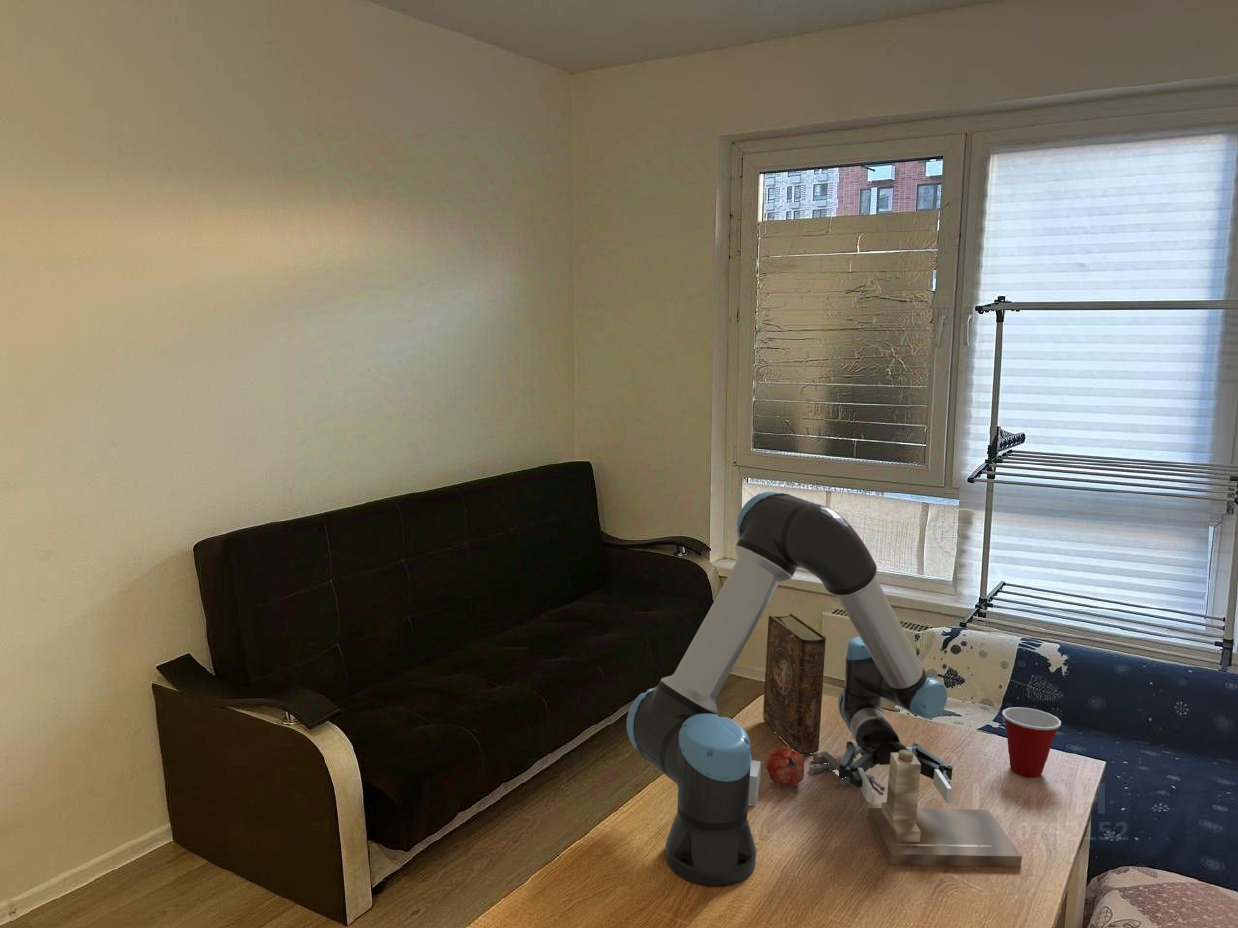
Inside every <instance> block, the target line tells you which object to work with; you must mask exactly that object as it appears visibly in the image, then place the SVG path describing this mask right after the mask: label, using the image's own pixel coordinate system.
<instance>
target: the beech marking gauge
mask: <svg viewBox="0 0 1238 928" xmlns="http://www.w3.org/2000/svg"><path fill="white" fill-rule="evenodd" d="M888 769H889V770H888V782H887V794H886V795H887V796H886V802H883V801H882V802H881V808H882V809H881V813H882V815H883V817H884V819H885V821H886V823H887V825H888V827H889V828H890V830H891V832H892V834H893V836H894V838H895V840H896V842H920V833H921V831H920V829H919V828H918V826H917V824H916V816H917V809H918V803H919V802H918V801H919V792H920V791H919V790H920V781H921V780H920V779H921V774H920V770H921V764H920V762H919V761H918V759H917V758H916V756H915V755H914V753H912V752H911V751H909V750H900V751H899V753H891V755H890V765H889V767H888Z"/></svg>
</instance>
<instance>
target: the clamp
mask: <svg viewBox="0 0 1238 928" xmlns="http://www.w3.org/2000/svg"><path fill="white" fill-rule="evenodd" d="M813 760H814V761H813ZM812 761H813V762H815V761H816V762H815V764H811V765H809V771H810V773H812V774H816V773H821V772H822V771H823V770H830V769H831V770H836V769H837V770H838V771H839V764H840V762H839V761H838V760H837V759H836V758H835V757H833V755H831V754H830V753H829V752H828V751H820V752H819V751H818V752H814V753H813V754H812ZM823 763H827V764H823ZM828 763H829V764H828ZM818 764H819V765H818ZM831 770H830V771H831ZM834 773H835V772H834ZM834 773H833V774H834ZM865 774H866V776H867V778H868V780H869V782H870V783H873V784H874V785H876V786H877V787H878V788H879V790H880V791H882V792H884V791H885V789H886V787H885V786H884V785H881V784H880V783H878V782H877V780H875V776H874V775H873V774H872V773H871V774H867V772H865ZM835 776H836V777H838V779H840V780H841V779H842V778H840V777H839V776H838V775H835ZM833 786H834V787H837V786H848V787H849V788H853V787H855V786H854V784H850V783H849V777H846V778H843V779H842V780H841V781H838V782H834V783H833Z"/></svg>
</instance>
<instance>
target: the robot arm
mask: <svg viewBox="0 0 1238 928" xmlns="http://www.w3.org/2000/svg"><path fill="white" fill-rule="evenodd" d="M736 526H737V529H736V533H737V536H738V541H737V543H736V545H735V546H734V550H735V552H736V556H737V560H736V561H735V563H734V565H733V566H732V569H731V570H730V572H729V574H728V576H727V578H726V580H725V581H724V583H723V585H722V587H721V589H720V590H719V592H718V594H717V596H716V598H715V600H714V601H713V603H712V604H711V607H710V609H709V610H708V612H707V613H706V615H705V617H704V619H703V620H702V623H701V625H700V626H699V628H698V630H697V632H696V633H695V636H694V637H693V639H692V641H691V642H690V644H689V646H688V648H687V650H686V651H685V654H684V655H683V657H682V659H681V660H680V662H679V663H678V666H677V668H676V669H675V671H674V673H673V674H672V675H668V676H665V677H662V678H661V679H660V680H659V683H658V684H657V686H656V687H654V688H653V687H652V688H648V689H646V692H641V693H640V694H639V695H638V696H637V697H636V698H635V700H634V701H633V702H632V704H631V705H630V708H629V710H628V714H627V718H626V732H627V736H628V739H629V742H630V743H631V745H632V746H633V747H634V749H635V750H636V751H637V752H638V753H639V755H640V756H641V757H642V758H643V759H645V760H647V761H648V762H650V763H651V764H652V765H653V766H654V767H655V768H656V769H658V770H660V771H661V773H663V774H664V775H665V776H666V777H668V778H669V779H670V780H671V781H672V782H674V783H675V784H676V785H677V810H676V815H675V817H674V819H673V822H672V824H671V827H670V830H669V832H668V835H667V837H666V841H665V853H664V854H665V861H666V863H667V865H668V866H669V868H670V869H671V870H672V872H674V874H676V875H678V876H679V877H681V878H683V879H684V880H685V881H686V880H687V881H688V882H692V883H695V884H697V885H703V886H710V887H711V886H712V887H719V886H721V887H723V886H729V885H733V884H737V883H740V882H742V881H744V880H745V879H747V878H749V877H750V875H751V874H752V873H753V872H754V870H755V869H756V868H755V867H756V864H757V863H756V862H757V861H756V860H757V848H756V844H755V840H754V837H753V833H752V831H751V828H750V827H751V826H750V823H749V820H748V813H749V812H748V811H749V805H748V797H749V782H750V767H751V760H752V754H751V741H750V738H749V737H750V736H749V735H748V733H747V731H746V730H745V729H744V728H743V727H742V725H740V724H739V723H738V722H737V721H735V720H733V719H732V718H729V717H727V716H721V717H720V716H719V715H718V713H719V711H718V707H717V706H718V705H717V702H716V701H717V700H716V699H717V697H718V696H719V694H720V691H721V690H722V687H724V685H725V682H726V681H727V679H728V677H729V675H730V673H731V671H732V670H733V667H734V666H735V664H736V663H737V660H738V659H739V657H740V655H741V653H742V651H743V649H744V648H745V646H746V644H747V642H748V641H749V639H750V637H751V636H752V634H753V632H754V631H755V630H754V629H755V627H756V626H757V624H758V622H759V621H760V618H761V617H762V616H763V613H764V612H765V610H766V608H767V606H768V605H769V602H770V601H771V599H772V597H773V595H774V593H775V591H776V589H777V587H778V586H779V584H780V583H782V582H784V581H789V580H791V579H793V576H794V574H795V573H796V571H797V569H798V568H801V569H804V570H806V571H807V572H809V573H811V574H812V575H814V576H815V577H816V578H817V579H819V580H820V582H822V584H823V586H824V587H825V590H827V592H828V593H829V594H830V595H833V596H836V597H837V599H838V601H839V602H840V604H841V606H842V608H843V610H844V611H845V612H846V615H847V616H848V618H849V620H850V621H851V624H852V625H853V628H854V629H855V630H856V632H857V634H858V636H857V637H856V636H855V637H852V638H851V639H850V640H849V641H848V643H847V650H846V656H845V670H844V671H845V672H844V673H845V674H844V689H843V690H842V692H841V693H840V695H839V696H838V701H837V706H838V710H839V714H840V715H841V716H840V717H841V718H842V720H843V721H844V723H845V725H846V726H847V728H848V730H849V732H850V733H851V735H852V737H853V739H854V741H855V743H856V744H857V745H855V744H854V742H852V741H847V742H846V748H845V749H846V750H845V752H844V754H843V756H842V758H841V760H840V762H839V763H840V764H839V777H840V778H845V777H849V783H850V784H854V787H855V788H859V789H860V790H861V793H862V795H863V796H864V798H865V801H866V802H868V803H871V802H872V799H873V798H872V796H873V795H872V794H873V786H872V784H871V782H869V780H868V778H867V776H866V774H867V771H868V770H870V769H873V768H874V767H875V766H877V765H878V766H879V765H880V766H887V765H889V766H890V755H891V753H899V751H900V750H909V751H911V752H912V753H914V755H915V756H916V758H917V759H918V761H919V762H920V764H921V770H920V775H922V776H924V777H927V778H929V779H930V780H931V779H932V781H933V783H932V784H933V785H934V787H935V788H936V789H937V791H938V792H939V794H940V796H941V798H942V799H943V800H944V802H945V804H946V803H947V804H951V801H952V791H953V788H952V786H951V781H952V780H953V779H952V778H953V777H952V776H953V768H954V767H953V765H951V764H950V763H948V762H947V761H944V760H943V759H941V758H940V757H938V756H936V755H935V754H933V753H931V752H930V751H928V750H926V749H925V748H924V747H922V745H921V744H919V743H918V742H914V743H912V746H909V747H908V746H905V744H903V743H901V741H900V738H899V736H898V734H897V732H896V731H895V730H894V728H893V726H892V725H891V722H890V721H889V719H887V717H886V715H885V714H884V712H883V710H882V699H885V700H887V701H888V702H891V703H893V704H894V705H897V706H898V707H900V708H902V709H904V710H906V711H908V712H909V713H910V714H912V715H916V716H918V717H920V718H922V719H925V720H930V719H935V718H937V716H939V715H940V714H941V712H942V711H944V708H945V707H946V705H947V701H948V691H947V690H948V689H947V688H946V686H945V684H943V683H942V682H941V681H939V680H937V678H936V677H932V676H930V675H928V673H927V672H926V670H925V667H923V664H922V663H921V661H920V659H919V656H918V655H917V653H916V651H915V649H914V647H913V646H912V643H911V642H910V639H909V638H908V636H907V634H906V631H905V630H904V628H903V627H902V624H901V623H900V620H899V619H898V617H897V614H896V613H895V611H894V609H893V608H892V605H891V603H890V601H889V600H888V598H887V596H886V593H885V592H884V590H883V588H882V586H881V584H880V582H879V581H878V579H877V573H878V567H877V564H876V562H875V561H874V558H873V557H872V555H871V552H870V551H869V549H868V547H867V546H866V544H865V543H864V541H863V540H862V538H861V537H860V536H859V534H858V533H857V532H856V530H855V529H854V528H853V526H852V525H851V524H850V523H849V522H848V521H847V520H846V518H844V516H842V515H841V514H840V513H838V512H837V511H836V510H834V509H833V508H831V507H828V506H826V505H823V504H820V503H815V502H812V501H809V500H805V499H803V498H800V497H797V496H794V495H791V494H790V493H785V492H776V491H765V492H762V493H758V494H756V495H754V496H752V497H751V498H749V500H747V502H746V503H744V505H743V507H742V508H741V510H740V512H739V514H738V516H737V519H736ZM858 755H861V756H860V757H859V758H857V756H858ZM854 759H856V760H855V761H854ZM865 773H866V774H865ZM839 777H838V778H839ZM840 778H839V779H840Z"/></svg>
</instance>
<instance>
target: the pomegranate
mask: <svg viewBox="0 0 1238 928" xmlns="http://www.w3.org/2000/svg"><path fill="white" fill-rule="evenodd" d="M804 765H805V761H804V758H803V755H801V754H800V753H799V752H797V751H793V750H792V749H791V748H790V747H789V746H779V747H778V746H777V747H776V748H774V749H773V750H772V751H771V752H770V753H769V755H768V757H767V758H766V761H765V768H766V771H767V772H768V774H769V777H770V780H771V781H772V782H773V783H775V784H776V785H778V786H781V787H787V786H790V787H794V786H795V787H796V786H797V785H799V784H800V783H801V782H802V781H803V780H804V777H805V766H804Z"/></svg>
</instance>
